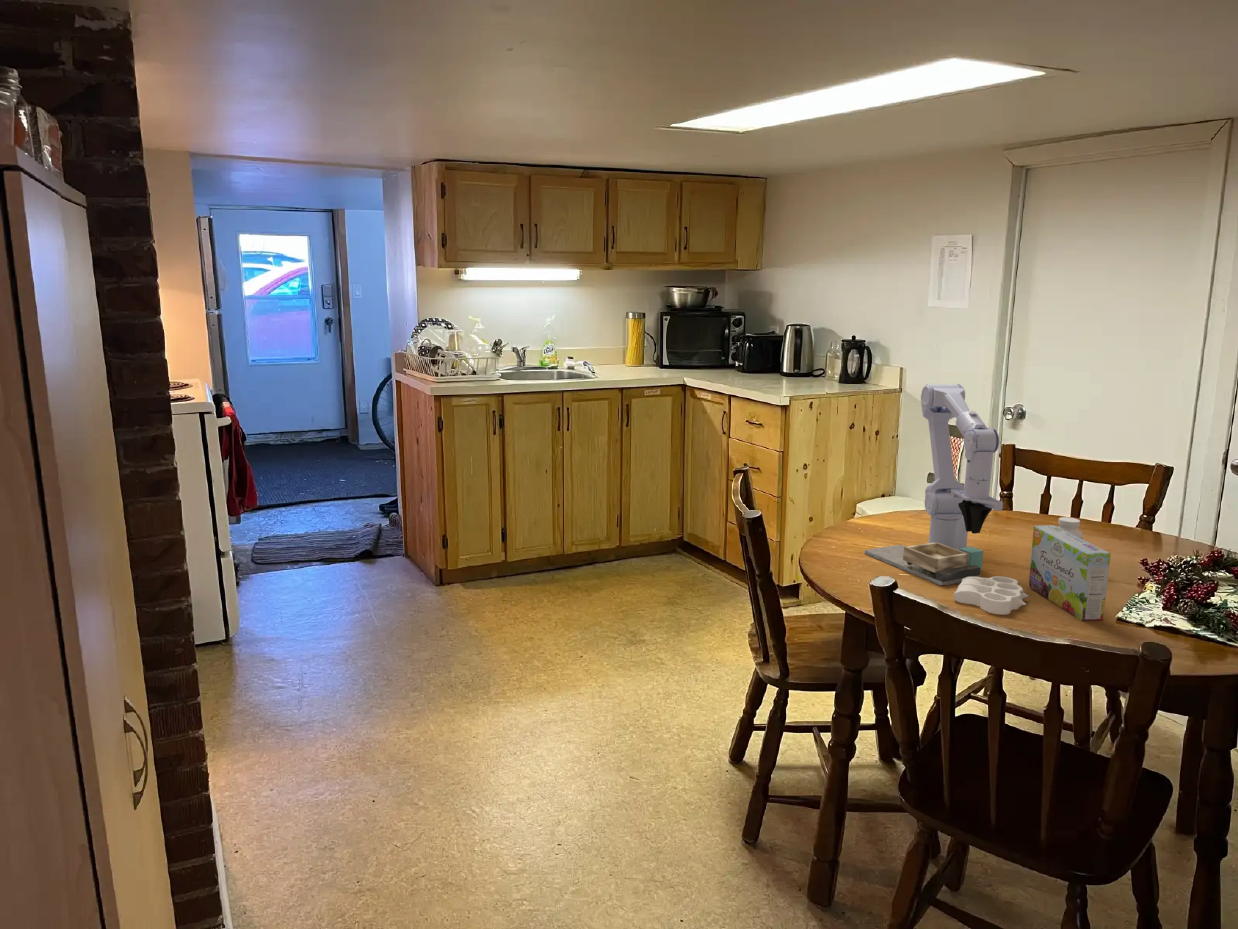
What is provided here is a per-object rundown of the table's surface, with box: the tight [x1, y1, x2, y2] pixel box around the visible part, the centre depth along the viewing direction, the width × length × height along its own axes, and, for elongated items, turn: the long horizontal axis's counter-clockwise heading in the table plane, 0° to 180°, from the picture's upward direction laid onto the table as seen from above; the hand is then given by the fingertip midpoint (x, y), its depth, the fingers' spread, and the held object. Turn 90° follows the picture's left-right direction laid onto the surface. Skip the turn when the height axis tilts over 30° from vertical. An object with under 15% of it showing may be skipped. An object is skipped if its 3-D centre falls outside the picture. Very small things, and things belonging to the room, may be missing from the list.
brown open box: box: [903, 542, 969, 574], centre depth 213 cm, size 11×11×4 cm
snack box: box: [1028, 524, 1111, 622], centre depth 193 cm, size 21×6×15 cm, turn 5°
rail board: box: [864, 544, 982, 586], centre depth 218 cm, size 12×27×3 cm, turn 25°
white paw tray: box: [953, 575, 1030, 616], centre depth 196 cm, size 3×18×15 cm
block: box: [959, 546, 984, 571], centre depth 216 cm, size 4×4×5 cm
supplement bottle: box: [1057, 516, 1084, 540], centre depth 215 cm, size 7×7×13 cm
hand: (972, 532), depth 215 cm, fingers closed
